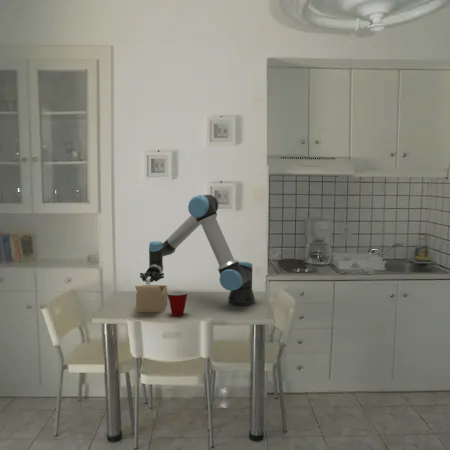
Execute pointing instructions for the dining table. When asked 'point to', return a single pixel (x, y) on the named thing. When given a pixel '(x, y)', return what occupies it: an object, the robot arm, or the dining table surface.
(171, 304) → the plastic cup
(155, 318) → the dining table surface
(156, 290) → the flap
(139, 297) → the carton
